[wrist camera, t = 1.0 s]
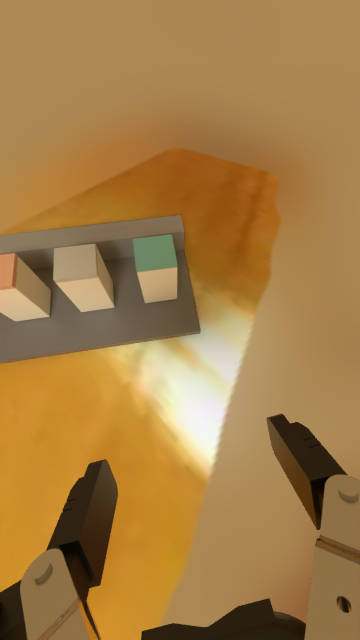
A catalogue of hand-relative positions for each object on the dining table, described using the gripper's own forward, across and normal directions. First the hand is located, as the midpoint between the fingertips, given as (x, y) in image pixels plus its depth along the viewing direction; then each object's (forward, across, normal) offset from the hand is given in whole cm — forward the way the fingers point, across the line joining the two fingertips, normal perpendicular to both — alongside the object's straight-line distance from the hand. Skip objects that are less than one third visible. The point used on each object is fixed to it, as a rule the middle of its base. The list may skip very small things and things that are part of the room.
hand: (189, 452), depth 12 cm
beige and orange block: (+24, +17, -8) cm, 31 cm away
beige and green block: (+25, +1, -6) cm, 25 cm away
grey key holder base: (+26, +9, -7) cm, 28 cm away
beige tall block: (+24, +9, -6) cm, 27 cm away
